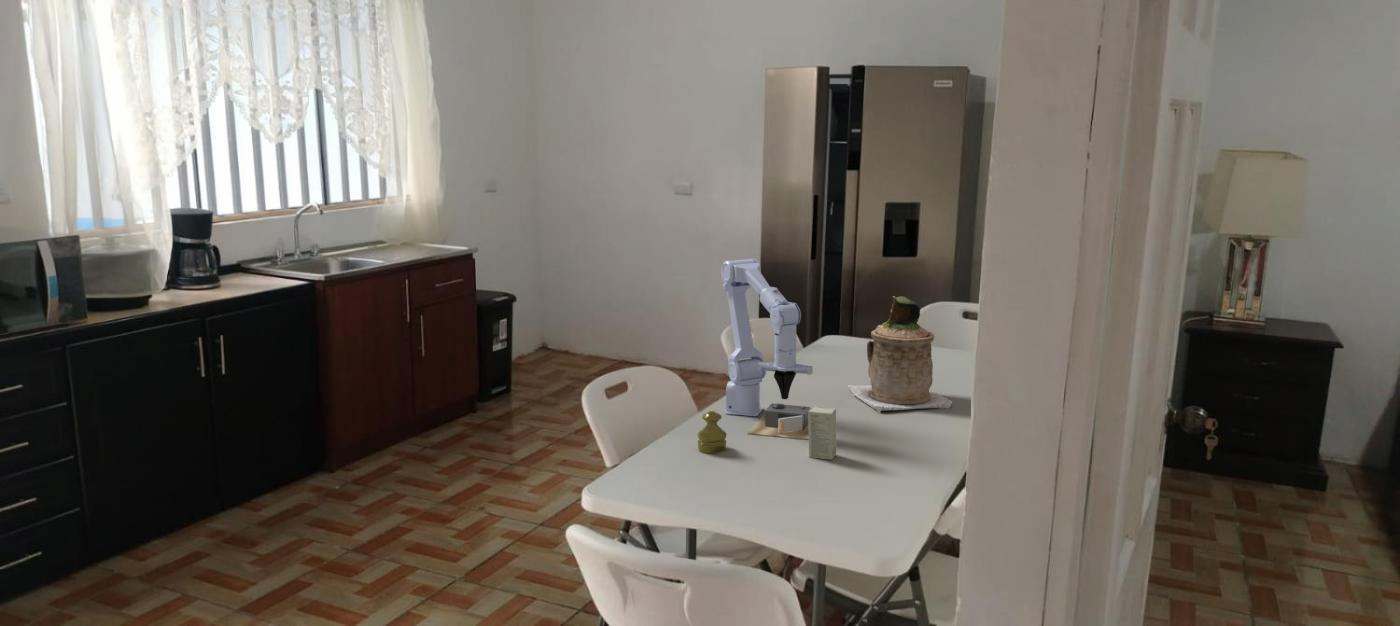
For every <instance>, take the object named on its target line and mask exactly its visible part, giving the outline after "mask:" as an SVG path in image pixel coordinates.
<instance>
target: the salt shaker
mask: <svg viewBox="0 0 1400 626" xmlns="http://www.w3.org/2000/svg"><path fill="white" fill-rule="evenodd" d="M701 417H702V419H703V420H704V421H705V422H706V424H705V426H704V427H702V429H700V430H699V431H698V432H697V438H698V440H697V449H698V451H700V452H702V453H705V454H718V453H719V454H720V453H723V452H724V451H726V449H727V440H726V438H727V432H726V430H724V429H723V428H722V427H721V426H719V425H718V422H719V421H720V420H721V419H722V414H720V413H718V412H716V411H714V410H711V411H708V412H705V413H704V414H702V416H701Z"/></svg>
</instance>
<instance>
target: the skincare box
mask: <svg viewBox="0 0 1400 626" xmlns="http://www.w3.org/2000/svg"><path fill="white" fill-rule="evenodd" d="M808 420H809V440H808V457H809V458H812V459H821V460H830V461H831V460H833V459H834V458H835V456H836V455H837V409H836V408H834V407H833V408H832V407H831V408H830V407H822V406H821V407H820V406H812V407H810V410H809V411H808Z"/></svg>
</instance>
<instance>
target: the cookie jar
mask: <svg viewBox="0 0 1400 626" xmlns="http://www.w3.org/2000/svg"><path fill="white" fill-rule="evenodd" d="M892 300H893V301H892V304H891V309H890V314H889V318H888V320H887V321H886V322H883V323H882V324H879V325H877V326H876V327H875V329H873V330H872V331H871V333H870V335H871V336H870V337H871V338H872V339H873V340H868V341H867V342H866V354H867V356H866V357H867V361H868V370H867V372H868V377H869V379H870V384H869V385H868V384H867V385H860V384H859V385H856V384H848V385H847V386H848V387H849V389H850V391H851V393H852V394H853V396H854V397H856V398H857V399H859V400H860V401H862V402H864V403H865V404H866V405H868V407H871V408H873V410H876V411H877V413H878V414H881V413H882V412H883V411H902V410H903V411H905V410H915V409H916V410H917V409H950V408H951V406H952V404H953V400H950V399H948V398H947V397H945V396H942V395H940V394H939V393H937V392H934V391H932V390H930V389H931V387H932V385H933V380H934V379H933V373H934V372H933V369H934V368H933V359H932V357H933V356H932V350H933V349H932V343H933V341H934V339H935V334H934V333H933V332H932V331H928V330H927V329H926V328H924V327H922V326H921V325H919V323H918V321H919V319H920V316H921V308H920V305H918V304H917V303H916V302H914V301H912V300H911V299H910V298H907V297H906V296H903V295H900V296H897V297H896V296H895V295H893V296H892Z"/></svg>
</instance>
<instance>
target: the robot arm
mask: <svg viewBox="0 0 1400 626" xmlns="http://www.w3.org/2000/svg"><path fill="white" fill-rule="evenodd" d="M720 276H721V282H722V283H721V284H722V289H723V291H725V292H726V295H727V301H728V308H729V309H728V310H729V314H730V320H731V321H730V322H731V327H732V333H733V340H734V347H735V350H734V351H733V352H732V353H731V354H730V355H729V356H728V358H727V361H728V366H727V367H728V368H727V374H728V377H729V379H730V380H728V381H727V384H726V389H725V414H726V415H738V416H749V417H758V416H759V415H760V414H761V412H762V411H763V410H764V407H763V406H761V405H760V404H761V403H760V401H761V397H760V394H761V393H760V392H761V388H760V387H761V383H762V382H763V379H764V378H765V377H766V374H767V372H774V374H773V377H774V379H775V382H776V384H777V386H778V388H779V389H778V390H779V392H780V397H781V399H782V400H788V399H789V394H790V390H791V387H792V385H793V381H794V379H795V377H796V375H797V374H805V375H809V376H811V375H812V374H813V373H814V372H813V371H814V368H813V366H812V365H806V364H801V363H797V325H799V324H800V322H801V319H802V312H801V309H800V307H799V306H798V303H796V302H791V301H788V300H787V299H786V297H785V296H784V295H783V294H782V293H781V292H780V291H779V289H778V288H777V287H774V286H770V285H769V283H768V282H767V280H766V278H765V277H764V275H763V274H762V269H761V263H759V261H758V260H757V259H756V258H754V257H753V258H752V257H751V258H748V259H738V260H737V259H736V260H735V259H734V260H725V261H724V262H723V264H722V265H721V269H720ZM750 288H752V289H753V290H755V291H756V293H757V294H758V295H759V302H760V303H761V304H762V306H763V307H764V309H766V310H767V312H768V313H769V318H770V322H771V325H772V331H773V333H774V362H765V360H764V356H763V353H762V352H761V351H760V350H758V349H757V348H755V347H754V342H753V336H752V330H751V322H750V316H749V315H750V314H749V310H748V302H747V297H746V293H747V290H748V289H750Z"/></svg>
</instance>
